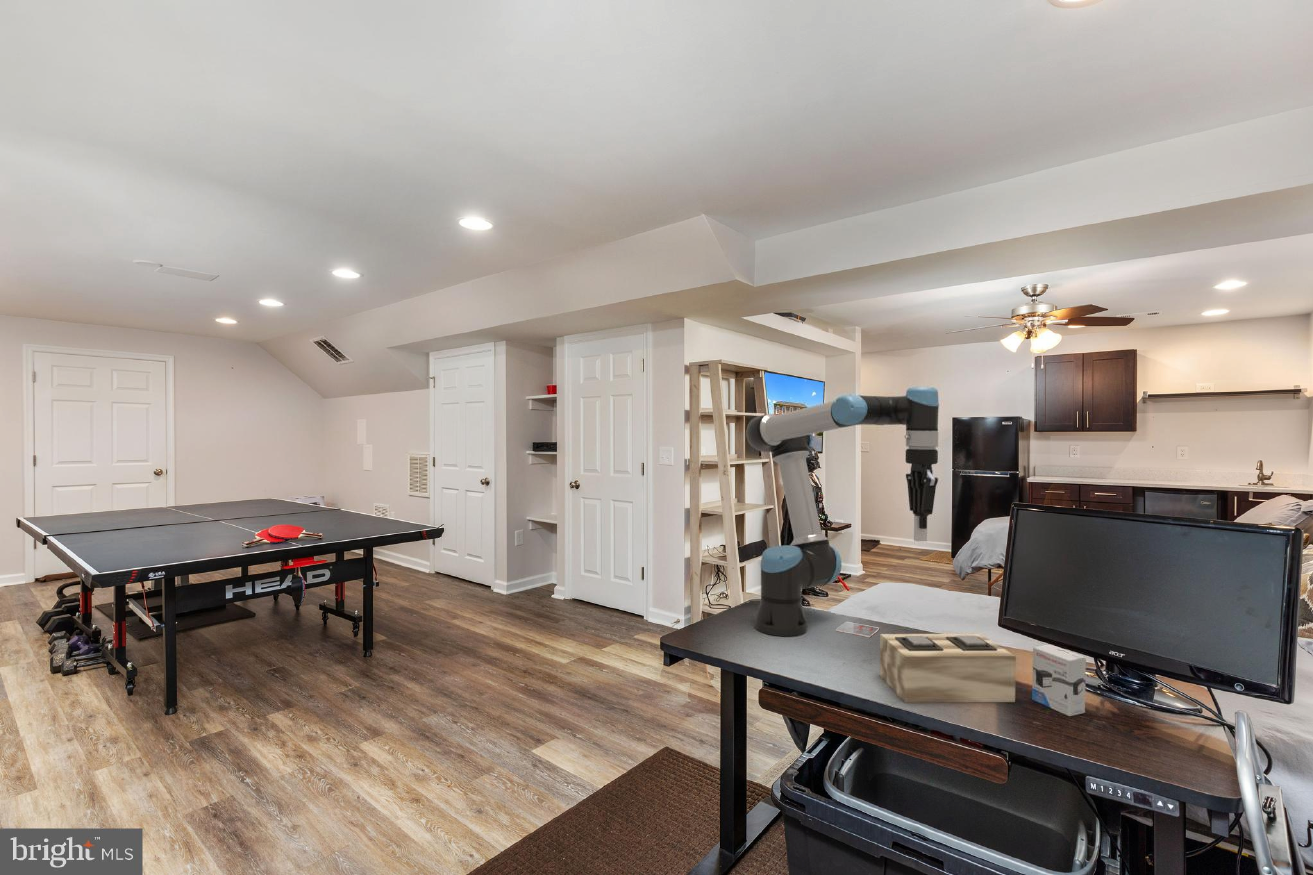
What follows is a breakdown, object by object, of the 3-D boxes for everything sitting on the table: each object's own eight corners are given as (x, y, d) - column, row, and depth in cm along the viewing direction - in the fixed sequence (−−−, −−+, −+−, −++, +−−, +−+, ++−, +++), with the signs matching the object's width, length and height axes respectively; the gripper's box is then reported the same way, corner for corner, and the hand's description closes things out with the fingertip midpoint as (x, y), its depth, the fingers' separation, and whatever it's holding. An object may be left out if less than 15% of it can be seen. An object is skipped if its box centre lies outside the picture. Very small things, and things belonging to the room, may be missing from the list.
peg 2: (955, 676, 140) (956, 635, 140) (974, 676, 140) (975, 635, 140) (965, 684, 135) (966, 642, 135) (985, 684, 135) (985, 642, 135)
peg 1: (904, 676, 139) (904, 635, 139) (923, 676, 140) (923, 635, 139) (912, 684, 135) (913, 642, 135) (932, 684, 135) (932, 642, 135)
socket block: (879, 675, 144) (880, 632, 144) (979, 675, 145) (979, 632, 144) (905, 702, 130) (905, 654, 130) (1014, 701, 131) (1015, 654, 131)
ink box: (1030, 699, 132) (1031, 646, 132) (1046, 696, 134) (1047, 643, 134) (1069, 717, 124) (1070, 660, 124) (1086, 713, 126) (1087, 657, 126)
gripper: (896, 447, 160) (895, 536, 160) (918, 449, 147) (917, 545, 147) (924, 447, 160) (923, 536, 160) (949, 449, 147) (947, 545, 147)
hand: (920, 540), depth 154 cm, fingers closed
